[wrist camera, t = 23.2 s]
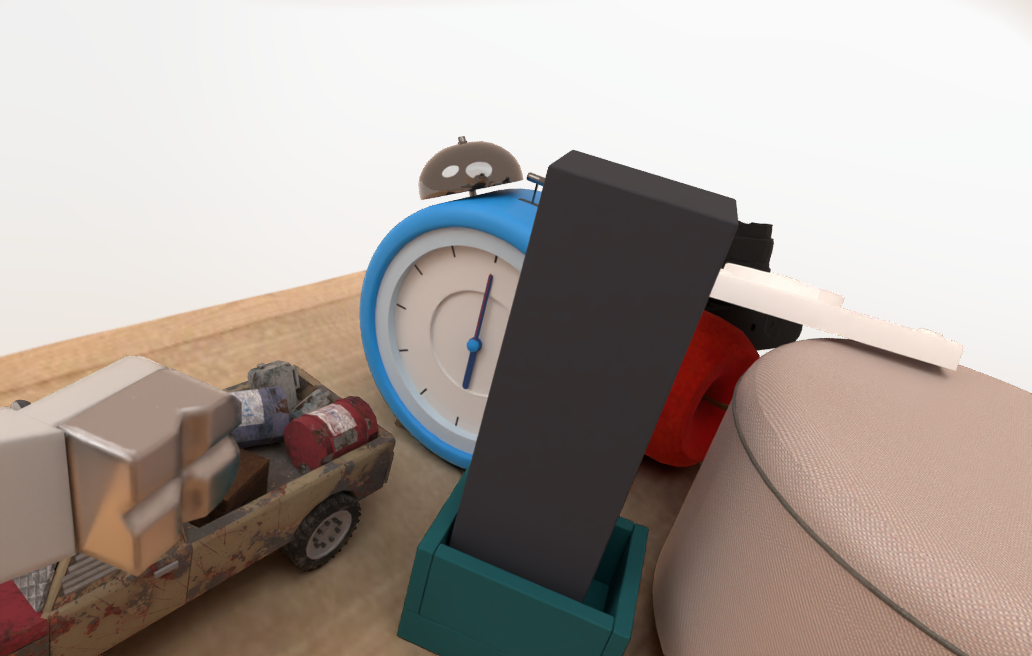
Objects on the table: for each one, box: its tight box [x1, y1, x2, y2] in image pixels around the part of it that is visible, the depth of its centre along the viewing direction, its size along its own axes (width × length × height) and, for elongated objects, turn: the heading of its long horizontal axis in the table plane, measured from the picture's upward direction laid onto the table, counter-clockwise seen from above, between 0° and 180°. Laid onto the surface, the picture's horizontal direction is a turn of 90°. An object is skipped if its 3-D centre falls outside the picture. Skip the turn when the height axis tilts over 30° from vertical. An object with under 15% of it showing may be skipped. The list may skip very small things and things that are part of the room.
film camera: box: [704, 221, 803, 351], centre depth 50 cm, size 15×10×9 cm
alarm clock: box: [360, 136, 545, 469], centre depth 32 cm, size 13×6×15 cm, turn 60°
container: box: [653, 338, 1032, 656], centre depth 23 cm, size 18×18×12 cm
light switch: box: [709, 263, 963, 371], centre depth 35 cm, size 11×2×19 cm
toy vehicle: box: [0, 361, 396, 656], centre depth 21 cm, size 7×18×8 cm, turn 144°
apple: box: [645, 310, 760, 467], centre depth 38 cm, size 9×9×11 cm
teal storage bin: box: [397, 464, 649, 656], centre depth 24 cm, size 7×5×4 cm
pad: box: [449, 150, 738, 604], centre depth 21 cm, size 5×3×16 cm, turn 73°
